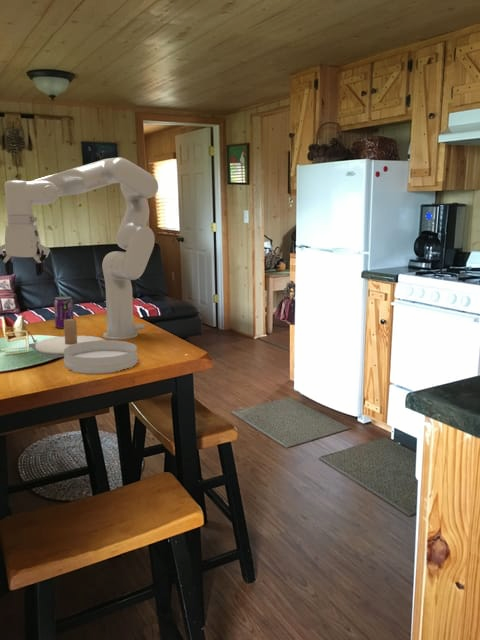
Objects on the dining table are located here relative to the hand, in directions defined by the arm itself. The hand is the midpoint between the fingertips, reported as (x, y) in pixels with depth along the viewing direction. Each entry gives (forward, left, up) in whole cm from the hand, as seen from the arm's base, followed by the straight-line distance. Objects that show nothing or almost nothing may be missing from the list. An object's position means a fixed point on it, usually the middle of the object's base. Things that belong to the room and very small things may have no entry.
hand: (25, 275), depth 175 cm
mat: (-13, +2, -26) cm, 29 cm away
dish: (-12, +26, -26) cm, 39 cm away
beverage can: (-25, -31, -26) cm, 47 cm away
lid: (-13, +2, -25) cm, 28 cm away
